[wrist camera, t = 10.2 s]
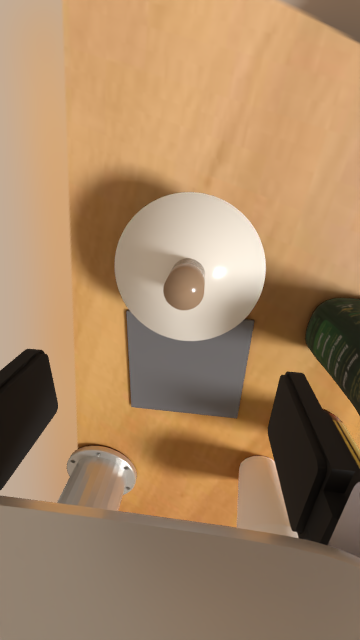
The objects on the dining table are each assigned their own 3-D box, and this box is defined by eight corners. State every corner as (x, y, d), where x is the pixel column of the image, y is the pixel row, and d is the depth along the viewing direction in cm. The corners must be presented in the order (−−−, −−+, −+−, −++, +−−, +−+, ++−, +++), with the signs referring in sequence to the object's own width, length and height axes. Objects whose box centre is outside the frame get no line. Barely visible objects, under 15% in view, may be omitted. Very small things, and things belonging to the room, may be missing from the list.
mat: (236, 416, 40) (237, 418, 40) (132, 405, 41) (131, 406, 41) (253, 320, 33) (254, 321, 33) (127, 310, 34) (126, 311, 34)
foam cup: (221, 476, 46) (224, 572, 34) (243, 442, 42) (255, 537, 30) (272, 492, 46) (293, 593, 35) (299, 460, 42) (332, 561, 31)
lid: (251, 341, 28) (260, 373, 23) (122, 331, 29) (104, 359, 24) (276, 195, 22) (295, 195, 17) (112, 189, 23) (86, 187, 18)
